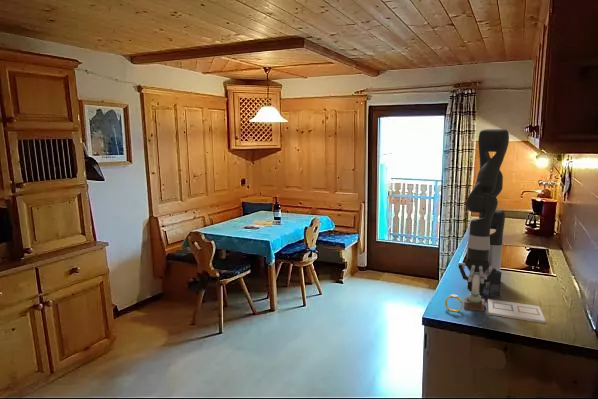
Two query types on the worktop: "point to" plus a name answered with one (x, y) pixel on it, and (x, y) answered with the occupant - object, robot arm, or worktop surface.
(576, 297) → the worktop surface
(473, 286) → the marker
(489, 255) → the robot arm
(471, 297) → the button
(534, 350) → the worktop surface
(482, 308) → the button housing
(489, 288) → the small box
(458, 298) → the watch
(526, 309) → the colouring board
